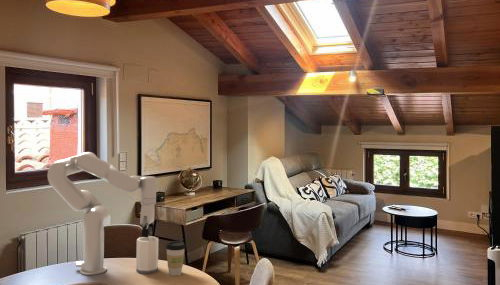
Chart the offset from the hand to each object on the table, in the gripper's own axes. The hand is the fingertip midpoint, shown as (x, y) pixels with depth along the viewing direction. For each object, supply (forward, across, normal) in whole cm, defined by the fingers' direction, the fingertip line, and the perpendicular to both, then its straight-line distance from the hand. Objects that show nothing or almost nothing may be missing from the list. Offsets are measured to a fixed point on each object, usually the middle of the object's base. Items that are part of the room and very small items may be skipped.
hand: (147, 234), depth 211 cm
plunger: (+15, 0, 0) cm, 15 cm away
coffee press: (+18, 0, 0) cm, 18 cm away
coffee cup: (+18, +3, +15) cm, 24 cm away
